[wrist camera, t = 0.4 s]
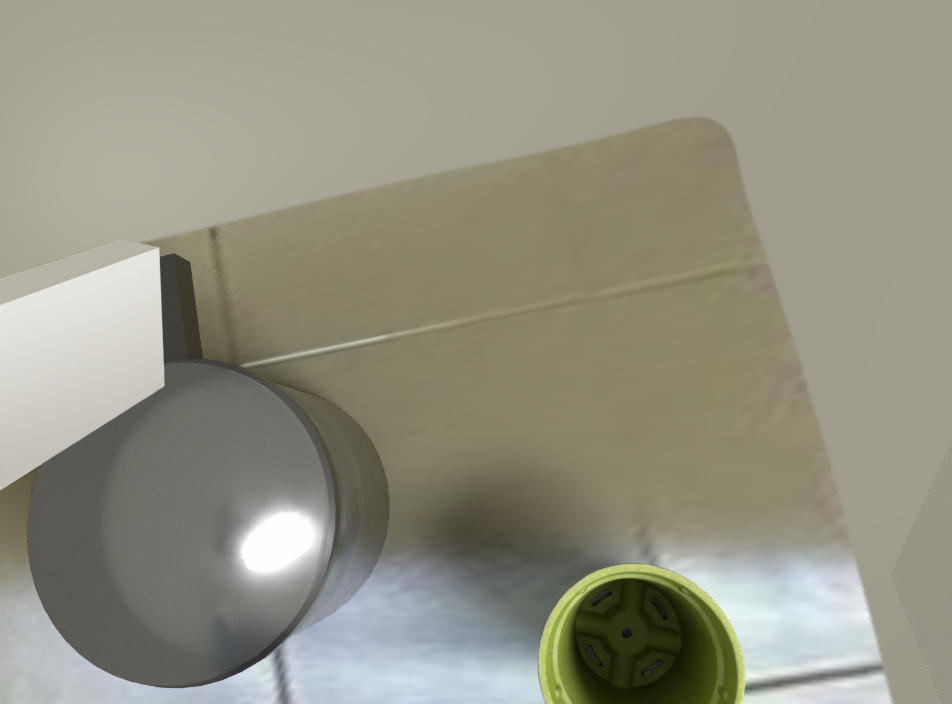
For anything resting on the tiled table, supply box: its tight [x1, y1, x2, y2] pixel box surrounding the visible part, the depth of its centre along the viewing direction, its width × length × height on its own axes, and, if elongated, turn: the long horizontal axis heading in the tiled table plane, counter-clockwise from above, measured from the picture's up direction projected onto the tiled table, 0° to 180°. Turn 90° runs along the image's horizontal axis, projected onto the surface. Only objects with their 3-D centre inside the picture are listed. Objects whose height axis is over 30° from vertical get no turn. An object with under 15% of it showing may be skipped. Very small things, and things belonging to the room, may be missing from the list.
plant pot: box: [538, 563, 745, 704], centre depth 39 cm, size 9×9×9 cm
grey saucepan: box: [27, 254, 389, 688], centre depth 42 cm, size 21×16×12 cm
